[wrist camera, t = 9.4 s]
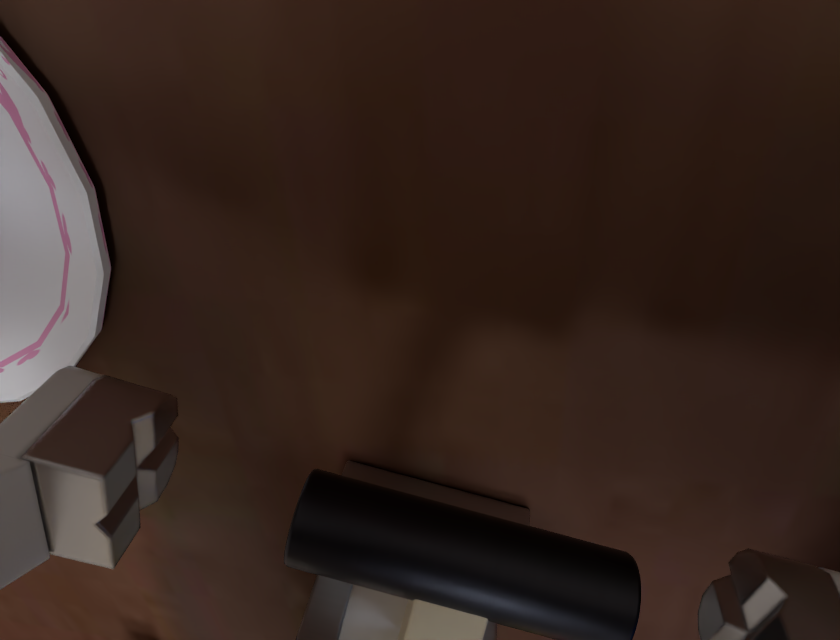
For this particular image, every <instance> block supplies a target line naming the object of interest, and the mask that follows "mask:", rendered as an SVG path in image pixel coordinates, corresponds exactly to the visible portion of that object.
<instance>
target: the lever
mask: <svg viewBox="0 0 840 640" xmlns="http://www.w3.org/2000/svg"><path fill="white" fill-rule="evenodd" d="M284 564H285V565H286V566H288V567H291V568H294V569H298V570H302V571H305V572H309V573H313V574H316V575H320V576H324V577H327V578H331V579H335V580H339V581H342V582H346V583H350V584H353V585H357V586H361V587H364V588H368V589H372V590H375V591H379V592H383V593H386V594H390V595H394V596H397V597H401V598H405V599H408V602H407V606H406V609H405V613H404V617H403V621H402V624H401V628H400V632H399V635H398V639H397V640H483V637H484V633H485V630H486V626H487V623H488V621H490V622H493V623H497V624H501V625H504V626H508V627H512V628H515V629H519V630H523V631H526V632H530V633H534V634H538V635H541V636H545V637H549V638H552V639H556V640H632V638H633V636H634V633H635V630H636V626H637V623H638V618H639V612H640V603H641V581H640V574H639V570H638V566H637V564H636V561H635V560H634V558H633V557H632V556H631V555H630V554H628V553H627V552H624V551H621V550H617V549H613V548H609V547H606V546H602V545H598V544H595V543H591V542H587V541H583V540H580V539H576V538H572V537H569V536H565V535H561V534H557V533H554V532H550V531H546V530H543V529H539V528H535V527H531V526H528V525H524V524H520V523H516V522H513V521H509V520H505V519H502V518H498V517H494V516H490V515H487V514H483V513H479V512H476V511H472V510H468V509H464V508H461V507H457V506H453V505H450V504H446V503H442V502H438V501H435V500H431V499H427V498H424V497H420V496H416V495H412V494H409V493H405V492H401V491H398V490H394V489H390V488H386V487H383V486H379V485H375V484H372V483H368V482H364V481H360V480H357V479H353V478H349V477H346V476H342V475H338V474H334V473H331V472H327V471H323V470H320V469H314V470H313V471H312V472H311V473H310V474H309V476H308V478H307V480H306V482H305V484H304V487H303V489H302V492H301V494H300V497H299V500H298V503H297V506H296V509H295V512H294V515H293V518H292V522H291V525H290V529H289V533H288V537H287V541H286V546H285V551H284Z"/></svg>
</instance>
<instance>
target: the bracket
mask: <svg viewBox="0 0 840 640" xmlns="http://www.w3.org/2000/svg"><path fill="white" fill-rule="evenodd" d="M342 476H346V477H349V478H353V479H357V480H360V481H364V482H368V483H372V484H375V485H379V486H383V487H386V488H390V489H394V490H398V491H401V492H405V493H409V494H412V495H416V496H420V497H424V498H427V499H431V500H435V501H438V502H442V503H446V504H450V505H453V506H457V507H461V508H464V509H468V510H472V511H476V512H479V513H483V514H487V515H490V516H494V517H498V518H502V519H505V520H509V521H513V522H516V523H520V524H524V525H528V526H530V511H529V509H527V508H523V507H520V506H516V505H512V504H509V503H505V502H501V501H497V500H494V499H490V498H486V497H482V496H479V495H475V494H471V493H468V492H464V491H460V490H456V489H453V488H449V487H445V486H442V485H438V484H434V483H430V482H427V481H423V480H419V479H416V478H412V477H408V476H404V475H401V474H397V473H393V472H389V471H386V470H382V469H378V468H375V467H371V466H367V465H363V464H360V463H356V462H352V461H348V462H347V463H346V465H345V467H344V470H343V473H342ZM407 602H408V599H405V598H401V597H397V596H394V595H390V594H386V593H383V592H379V591H375V590H372V589H368V588H364V587H361V586H357V585H353V584H350V583H346V582H342V581H339V580H335V579H331V578H327V577H324V576H320V575H317V577H316V580H315V583H314V586H313V589H312V592H311V595H310V598H309V601H308V604H307V607H306V610H305V613H304V616H303V619H302V622H301V625H300V628H299V631H298V634H297V637H296V640H397V639H398V635H399V632H400V628H401V624H402V621H403V617H404V613H405V609H406V606H407ZM483 640H497V623H493V622H490V621H488V623H487V626H486V630H485V633H484V637H483Z"/></svg>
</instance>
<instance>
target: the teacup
mask: <svg viewBox="0 0 840 640" xmlns="http://www.w3.org/2000/svg"><path fill="white" fill-rule="evenodd" d="M110 273H111V264H110V259H109V254H108V249H107V244H106V239H105V235H104V230H103V225H102V220H101V215H100V210H99V205H98V200H97V196H96V191H95V187H94V185H93V183H92V181H91V179H90V177H89V175H88V173H87V171H86V169H85V167H84V165H83V163H82V161H81V159H80V157H79V155H78V153H77V151H76V149H75V147H74V145H73V143H72V141H71V139H70V137H69V135H68V133H67V131H66V129H65V127H64V125H63V123H62V121H61V119H60V117H59V115H58V113H57V111H56V109H55V107H54V105H53V104H52V102H51V100H50V98H49V96H48V94H47V93H46V91H45V90H44V89H43V88H42V87H41V85H40V84H39V83H38V82H37V80H36V79H35V78H34V77H33V75H32V74H31V73H30V72H29V71H28V69H27V68H26V67H25V66H24V64H23V63H22V62H21V61H20V59H19V58H18V57H17V56H16V54H15V53H14V52H13V51H12V50H11V48H10V47H9V46H8V45H7V43H6V42H5V41H4V40H3V38H2V37H1V36H0V403H4V402H15V401H21V400H23V399H25V398H27V397H29V396H30V395H31V394H32V393H34V392H35V391H36V390H37V389H38V388H39V387H40V386H41V385H42V384H43V383H44V382H45V381H46V380H47V379H48V378H49V377H50V376H52V375H53V374H54V373H55V372H56V371H57V370H59V369H62V368H64V367H67V366H69V365H70V366H74V367H76V365H77V364H78V362H79V361H80V360H81V358H82V357H83V355H84V354H85V353H86V351H87V350H88V348H89V347H90V346H91V344H92V343H93V341H94V340H95V338H96V337H97V336H98V334H99V333H100V331H101V330H102V325H103V319H104V312H105V306H106V299H107V293H108V286H109V280H110Z"/></svg>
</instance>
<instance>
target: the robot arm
mask: <svg viewBox="0 0 840 640" xmlns="http://www.w3.org/2000/svg"><path fill="white" fill-rule="evenodd" d="M177 416H178V402H177V398H176V397H175V396H173V395H171V394H168V393H164V392H161V391H157V390H154V389H151V388H147V387H144V386H140V385H137V384H134V383H130V382H127V381H123V380H120V379H117V378H113V377H110V376H107V375H101V374H98V373H94V372H91V371H87V370H84V369H81V368H77V367H74V366H70V365H69V366H67V367H64V368H62V369H59V370H57V371H56V372H55V373H54V374H53V375H52V376H50V377H49V378H48V379H47V380H46V381H45V382H44V383H43V384H42V385H41V386H40V387H39V388H38V389H37V390H36V391H35V392H34V393H32V394H31V395H30V396H29V397H28V398H27V399H26V400H25V401H24V402H23V403H22V404H21V405H20V406H19V407H18V408H17V409H16V410H14V411H13V412H12V413H11V414H10V415H9V416H8V417H7V418H6V419H5V420H4V421H3V422H2V423H1V424H0V589H2V588H4V587H5V586H7V585H8V584H10V583H11V582H13V581H15V580H16V579H18V578H19V577H21V576H22V575H24V574H26V573H27V572H29V571H30V570H32V569H33V568H35V567H37V566H38V565H40V564H41V563H43V562H44V561H46V560H48V559H49V558H50V554H52V555H56V556H60V557H65V558H69V559H73V560H77V561H81V562H85V563H90V564H94V565H98V566H102V567H106V568H111V569H114V568H115V566H116V564H117V563H118V561H119V560H120V558H121V557H122V555H123V554H124V552H125V551H126V549H127V547H128V546H129V544H130V543H131V541H132V540H133V538H134V537H135V535H136V534H137V532H138V531H139V529H140V510H141V509H143V508H145V507H147V506H149V505H151V504H153V503H155V502H157V501H158V499H159V498H160V496H161V494H162V493H163V491H164V489H165V488H166V486H167V485H168V482H169V480H170V477H171V475H172V472H173V470H174V467H175V465H176V460H177V455H178V446H179V438H178V436H177V435H176V434H175V432H174V431H173V430H172V428H171V427H170V426H171V425H172V424H173V422H174V421H175V419H176V418H177ZM729 567H730V571H731V575H728V576H725V577H723V578H720V579H717V580H714V581H712V583H711V584H710V585H709V587H708V588H707V589H706V591H705V592H704V593H703V595H702V598H701V602H700V606H699V610H698V630H699V635H700V639H701V640H840V572H837V571H834V570H830V569H826V568H822V567H816V566H815V565H811V564H807V563H804V562H800V561H796V560H792V559H788V558H784V557H780V556H776V555H772V554H768V553H765V552H761V551H757V550H753V549H749V548H748V549H745V550H742V551H739V552H737V554H736V555H735V556H734V557H733V558H732V559H731V560H730V561H729Z"/></svg>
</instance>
